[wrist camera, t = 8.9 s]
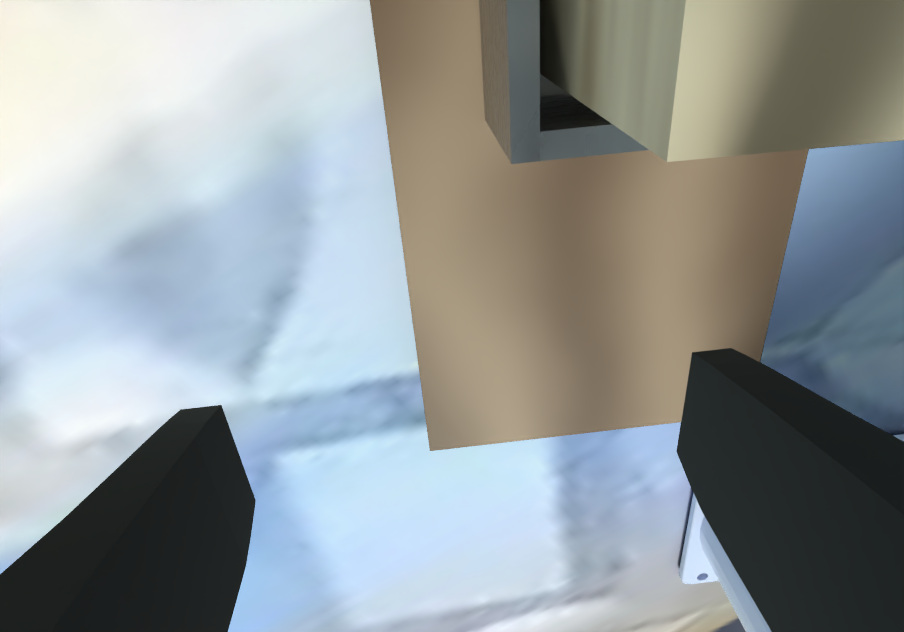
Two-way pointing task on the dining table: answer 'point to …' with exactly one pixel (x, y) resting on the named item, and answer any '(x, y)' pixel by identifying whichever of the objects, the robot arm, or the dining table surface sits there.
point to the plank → (562, 254)
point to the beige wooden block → (732, 71)
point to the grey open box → (535, 94)
